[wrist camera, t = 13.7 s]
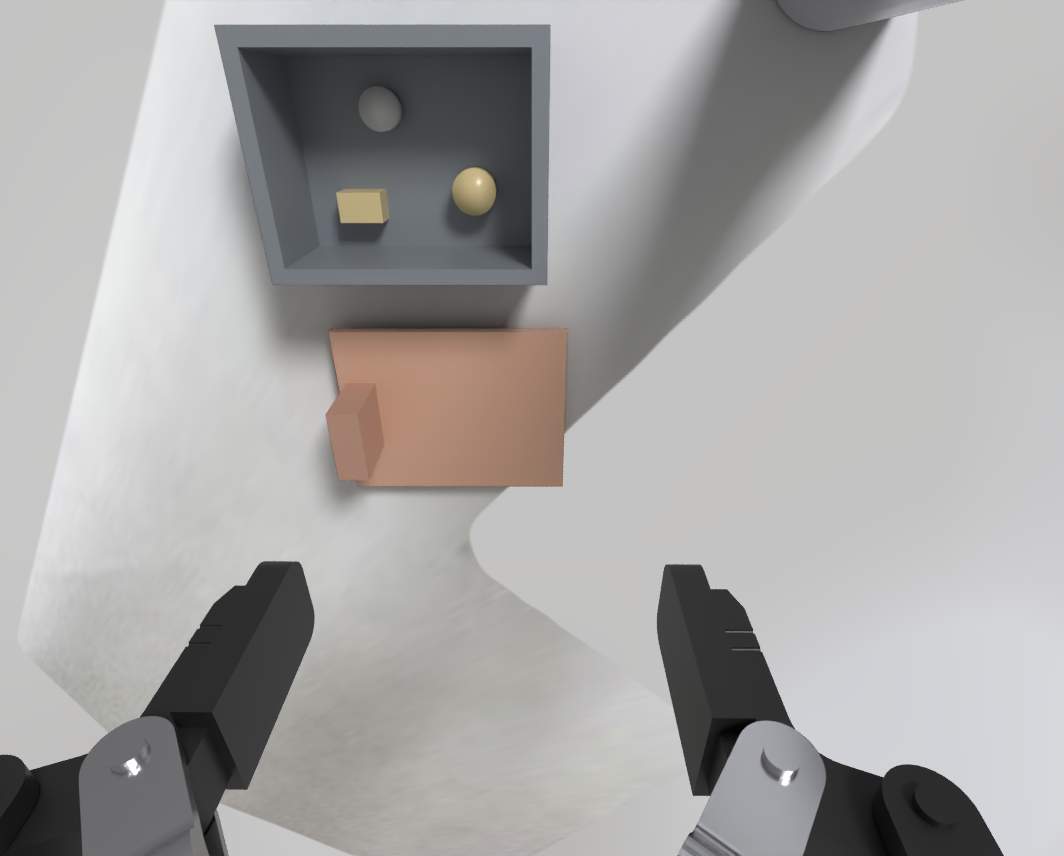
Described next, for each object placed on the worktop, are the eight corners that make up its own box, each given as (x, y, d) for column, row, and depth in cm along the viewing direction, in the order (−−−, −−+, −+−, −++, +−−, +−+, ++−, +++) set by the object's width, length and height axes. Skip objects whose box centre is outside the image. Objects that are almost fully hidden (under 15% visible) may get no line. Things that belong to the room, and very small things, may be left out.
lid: (566, 322, 47) (570, 359, 41) (561, 472, 55) (565, 524, 48) (337, 322, 47) (304, 358, 41) (363, 471, 55) (339, 524, 48)
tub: (547, 39, 37) (550, 24, 30) (544, 256, 44) (547, 284, 37) (273, 39, 38) (214, 24, 31) (313, 256, 44) (272, 284, 37)
